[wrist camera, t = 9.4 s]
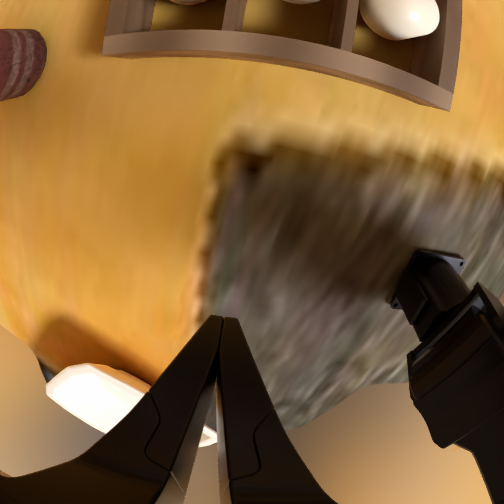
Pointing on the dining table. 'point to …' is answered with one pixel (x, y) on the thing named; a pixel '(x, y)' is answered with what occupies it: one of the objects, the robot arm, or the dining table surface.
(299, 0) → the button mid
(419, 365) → the robot arm
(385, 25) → the button right
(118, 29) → the brown compartment tray
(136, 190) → the dining table surface
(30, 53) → the can
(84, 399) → the bowl
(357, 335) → the dining table surface
